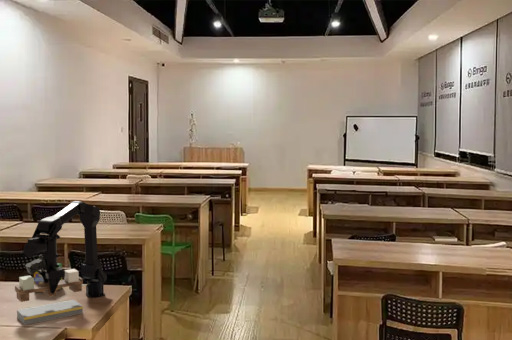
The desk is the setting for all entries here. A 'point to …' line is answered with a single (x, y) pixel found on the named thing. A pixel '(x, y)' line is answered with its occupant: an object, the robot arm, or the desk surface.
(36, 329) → the desk surface
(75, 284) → the pallet
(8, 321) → the desk surface
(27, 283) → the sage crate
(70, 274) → the block
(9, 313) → the desk surface
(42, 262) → the robot arm
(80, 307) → the dock
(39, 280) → the chalk box
